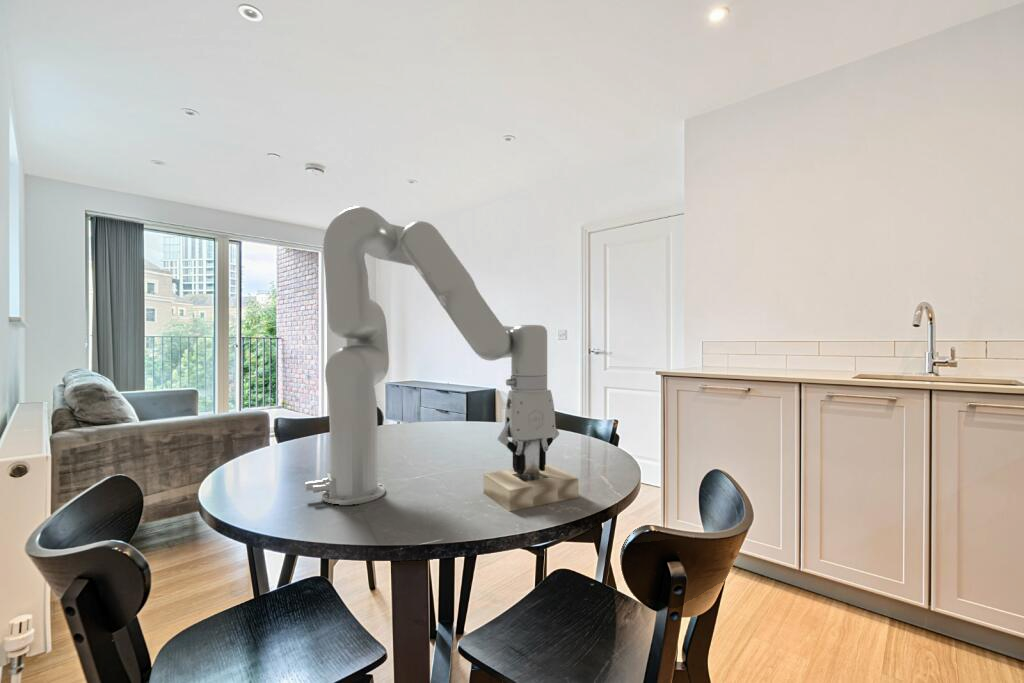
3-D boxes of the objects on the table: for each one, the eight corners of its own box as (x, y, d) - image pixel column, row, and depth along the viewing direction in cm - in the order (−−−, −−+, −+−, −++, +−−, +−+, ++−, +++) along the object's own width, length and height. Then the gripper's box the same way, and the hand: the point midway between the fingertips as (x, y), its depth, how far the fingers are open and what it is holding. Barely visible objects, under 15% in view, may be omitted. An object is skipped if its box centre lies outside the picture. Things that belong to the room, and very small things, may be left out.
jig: (509, 511, 85) (509, 490, 85) (483, 492, 96) (483, 473, 96) (578, 497, 93) (578, 477, 93) (547, 481, 103) (547, 463, 103)
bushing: (525, 485, 91) (525, 441, 91) (515, 479, 95) (515, 437, 95) (543, 482, 93) (543, 439, 93) (533, 477, 97) (533, 435, 97)
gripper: (501, 387, 87) (501, 482, 87) (572, 383, 95) (572, 470, 95) (485, 384, 94) (485, 472, 94) (553, 380, 101) (553, 461, 101)
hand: (529, 470), depth 94 cm, fingers closed on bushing, 4 cm apart
